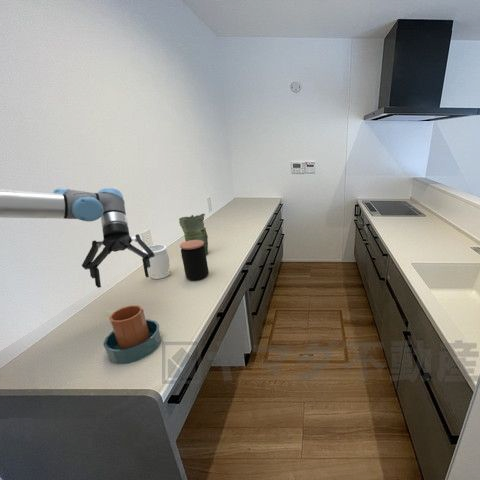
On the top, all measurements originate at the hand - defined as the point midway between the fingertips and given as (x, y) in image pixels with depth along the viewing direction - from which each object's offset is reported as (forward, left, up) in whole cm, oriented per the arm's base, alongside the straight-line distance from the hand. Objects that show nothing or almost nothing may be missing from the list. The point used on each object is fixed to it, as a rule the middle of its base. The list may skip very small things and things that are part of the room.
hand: (123, 281), depth 89 cm
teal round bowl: (-3, -10, -20) cm, 23 cm away
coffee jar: (+34, +22, -20) cm, 45 cm away
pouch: (+47, +47, -20) cm, 69 cm away
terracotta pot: (-3, -10, -20) cm, 22 cm away
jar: (+22, +37, -20) cm, 47 cm away
